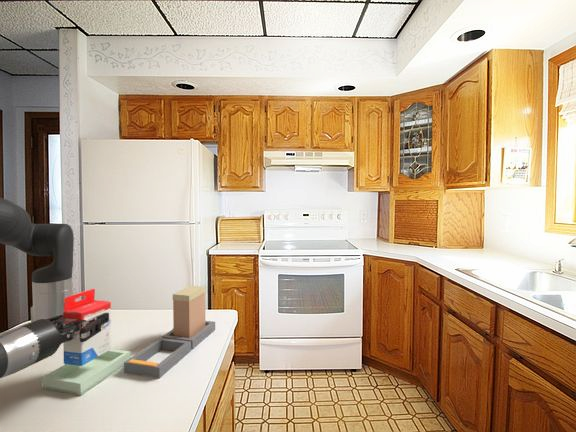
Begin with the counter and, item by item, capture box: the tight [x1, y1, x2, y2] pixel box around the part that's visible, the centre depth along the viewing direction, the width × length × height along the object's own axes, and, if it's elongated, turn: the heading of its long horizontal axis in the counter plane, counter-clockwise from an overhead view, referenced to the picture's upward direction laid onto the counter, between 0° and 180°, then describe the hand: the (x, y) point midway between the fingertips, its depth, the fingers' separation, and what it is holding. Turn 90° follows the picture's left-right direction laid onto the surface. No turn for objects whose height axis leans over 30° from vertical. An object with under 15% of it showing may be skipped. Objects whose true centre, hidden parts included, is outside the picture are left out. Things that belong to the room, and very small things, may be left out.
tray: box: [41, 348, 131, 396], centre depth 71 cm, size 10×14×2 cm
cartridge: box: [172, 285, 207, 338], centre depth 91 cm, size 5×9×14 cm, turn 167°
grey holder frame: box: [123, 320, 216, 379], centre depth 84 cm, size 9×27×3 cm, turn 167°
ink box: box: [62, 288, 112, 366], centre depth 71 cm, size 8×5×15 cm, turn 168°
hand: (97, 315), depth 73 cm, fingers closed on ink box, 5 cm apart
